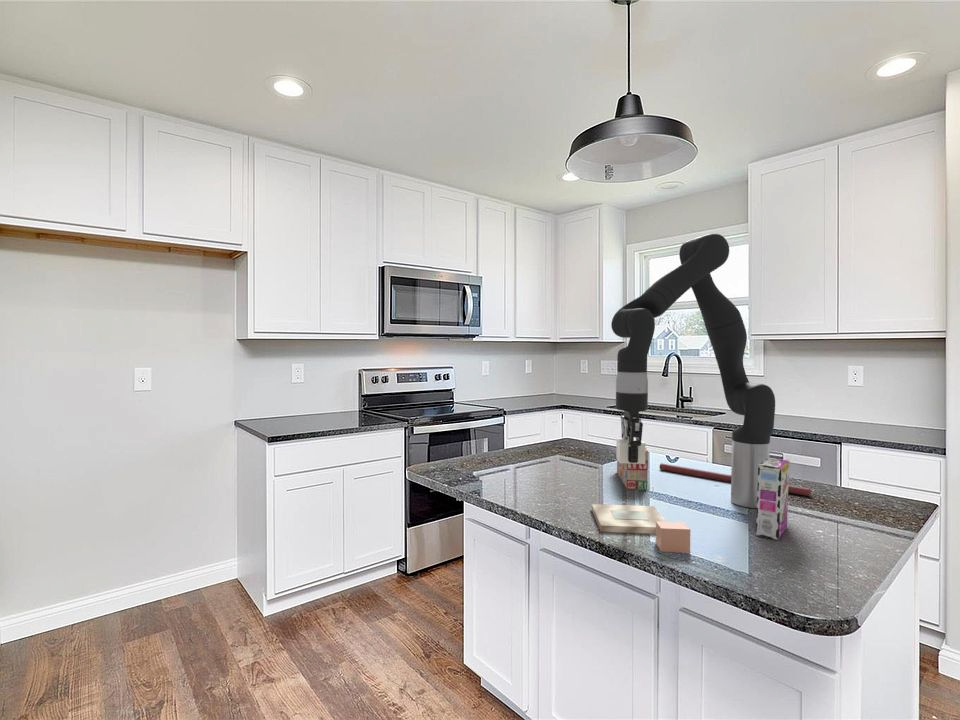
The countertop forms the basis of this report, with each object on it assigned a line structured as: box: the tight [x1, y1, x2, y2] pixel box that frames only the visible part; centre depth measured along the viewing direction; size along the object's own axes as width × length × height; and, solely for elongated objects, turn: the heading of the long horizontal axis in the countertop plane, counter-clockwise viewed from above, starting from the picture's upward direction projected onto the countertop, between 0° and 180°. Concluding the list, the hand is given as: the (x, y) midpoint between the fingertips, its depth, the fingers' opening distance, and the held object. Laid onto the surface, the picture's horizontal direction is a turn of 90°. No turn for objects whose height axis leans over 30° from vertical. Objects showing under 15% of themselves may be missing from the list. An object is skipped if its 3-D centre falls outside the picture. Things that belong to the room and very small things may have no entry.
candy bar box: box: [755, 457, 790, 541], centre depth 120 cm, size 11×5×16 cm, turn 141°
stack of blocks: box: [616, 446, 649, 491], centre depth 165 cm, size 21×6×12 cm, turn 173°
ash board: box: [591, 503, 668, 535], centre depth 127 cm, size 16×16×2 cm
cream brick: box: [615, 438, 646, 464], centre depth 126 cm, size 6×4×5 cm
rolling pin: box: [659, 462, 812, 497], centre depth 164 cm, size 45×3×3 cm, turn 46°
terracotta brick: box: [655, 520, 691, 554], centre depth 110 cm, size 6×4×5 cm
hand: (630, 459), depth 126 cm, fingers closed on cream brick, 4 cm apart
